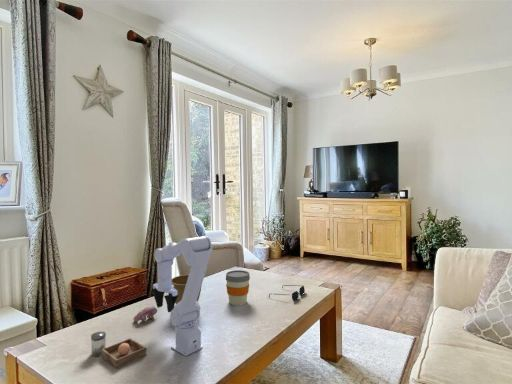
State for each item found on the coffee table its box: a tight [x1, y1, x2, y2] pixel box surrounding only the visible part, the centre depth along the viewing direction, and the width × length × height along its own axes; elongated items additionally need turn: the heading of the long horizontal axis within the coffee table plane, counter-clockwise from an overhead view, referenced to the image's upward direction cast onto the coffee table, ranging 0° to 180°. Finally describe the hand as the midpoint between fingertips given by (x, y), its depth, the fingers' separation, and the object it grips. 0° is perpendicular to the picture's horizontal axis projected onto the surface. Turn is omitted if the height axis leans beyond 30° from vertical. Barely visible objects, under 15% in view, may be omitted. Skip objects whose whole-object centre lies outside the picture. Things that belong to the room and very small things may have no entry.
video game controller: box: [133, 306, 158, 323], centre depth 145 cm, size 10×5×7 cm, turn 143°
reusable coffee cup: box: [225, 269, 251, 306], centre depth 166 cm, size 13×13×15 cm
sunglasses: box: [268, 284, 306, 302], centre depth 177 cm, size 17×15×5 cm
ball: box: [118, 343, 130, 355], centre depth 115 cm, size 4×4×4 cm
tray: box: [101, 337, 147, 369], centre depth 115 cm, size 11×11×3 cm
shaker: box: [90, 331, 107, 358], centre depth 117 cm, size 5×5×7 cm
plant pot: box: [172, 274, 203, 305], centre depth 154 cm, size 15×15×16 cm
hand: (165, 309), depth 133 cm, fingers open, 7 cm apart
